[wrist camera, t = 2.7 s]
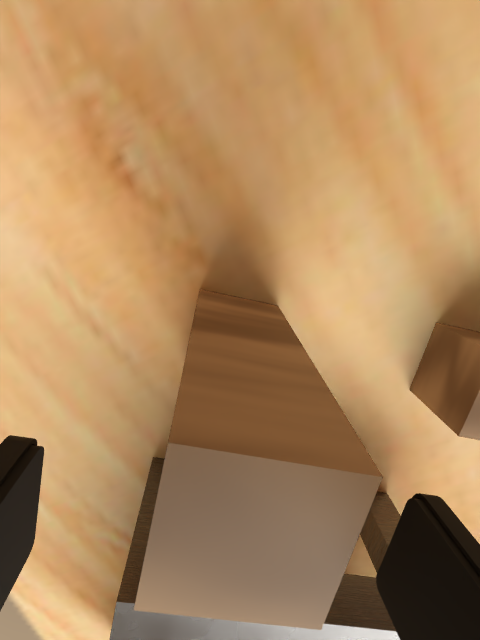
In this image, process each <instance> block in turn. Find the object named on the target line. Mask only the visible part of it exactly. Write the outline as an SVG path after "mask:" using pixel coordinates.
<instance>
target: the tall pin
mask: <svg viewBox="0 0 480 640" xmlns="http://www.w3.org/2000/svg"><path fill="white" fill-rule="evenodd" d="M382 478H383V477H382V475H381V473H380V472H379V470H378V469H377V467H376V465H375V464H374V462H373V460H372V459H371V457H370V455H369V454H368V452H367V451H366V449H365V447H364V446H363V444H362V442H361V441H360V439H359V438H358V436H357V434H356V433H355V431H354V429H353V428H352V426H351V424H350V423H349V421H348V420H347V418H346V416H345V415H344V413H343V411H342V410H341V408H340V406H339V405H338V403H337V402H336V400H335V398H334V397H333V395H332V393H331V392H330V390H329V388H328V387H327V385H326V384H325V382H324V380H323V379H322V377H321V375H320V374H319V372H318V371H317V369H316V367H315V366H314V364H313V362H312V361H311V359H310V357H309V356H308V354H307V353H306V351H305V349H304V348H303V346H302V344H301V343H300V341H299V339H298V338H297V336H296V335H295V333H294V331H293V330H292V328H291V326H290V325H289V323H288V321H287V320H286V318H285V317H284V315H283V313H282V312H281V310H280V308H279V307H278V306H276V305H271V304H267V303H262V302H257V301H253V300H248V299H243V298H239V297H234V296H229V295H225V294H220V293H215V292H210V291H206V290H201V289H200V291H199V296H198V301H197V306H196V310H195V315H194V320H193V325H192V330H191V335H190V339H189V344H188V349H187V354H186V359H185V363H184V368H183V373H182V378H181V383H180V388H179V392H178V397H177V402H176V407H175V412H174V417H173V421H172V426H171V431H170V436H169V441H168V446H167V450H166V455H165V460H164V465H163V470H162V475H161V480H160V485H159V489H158V494H157V499H156V504H155V509H154V514H153V519H152V523H151V528H150V533H149V538H148V543H147V548H146V553H145V558H144V562H143V567H142V572H141V577H140V582H139V587H138V592H137V596H136V601H135V606H134V610H135V611H144V612H154V613H163V614H173V615H183V616H192V617H202V618H211V619H221V620H230V621H240V622H249V623H259V624H268V625H278V626H287V627H297V628H306V629H316V630H321V629H322V627H323V624H324V622H325V619H326V617H327V614H328V612H329V609H330V607H331V604H332V602H333V600H334V597H335V595H336V592H337V590H338V587H339V585H340V582H341V580H342V577H343V575H344V572H345V570H346V567H347V565H348V562H349V560H350V557H351V555H352V552H353V550H354V547H355V545H356V542H357V540H358V537H359V535H360V532H361V530H362V527H363V525H364V523H365V520H366V518H367V515H368V513H369V510H370V508H371V505H372V503H373V500H374V498H375V495H376V493H377V490H378V488H379V485H380V483H381V480H382Z"/></svg>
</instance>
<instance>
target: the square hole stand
mask: <svg viewBox="0 0 480 640" xmlns="http://www.w3.org/2000/svg"><path fill="white" fill-rule="evenodd" d="M164 460H165V459H160V458H154V457H153V460H152V464H151V468H150V472H149V476H148V479H147V483H146V487H145V491H144V495H143V499H142V503H141V507H140V511H139V515H138V519H137V523H136V527H135V531H134V535H133V539H132V543H131V547H130V551H129V555H128V559H127V563H126V566H125V570H124V574H123V578H122V582H121V586H120V590H119V594H118V598H117V602H116V608H115V613H114V618H113V624H112V629H111V634H110V640H400V638H399V636H398V634H397V632H396V629H395V627H394V625H393V623H392V621H391V618H390V616H389V614H388V612H387V609H386V607H385V605H384V603H383V601H382V598H381V596H380V594H379V591H378V589H377V584H376V578H374V577H366V576H358V575H349V574H344V575H343V577H342V580H341V582H340V585H339V587H338V590H337V592H336V595H335V597H334V600H333V602H332V604H331V607H330V609H329V612H328V614H327V617H326V619H325V622H324V624H323V627H322V629H321V630H316V629H306V628H297V627H287V626H278V625H268V624H259V623H249V622H240V621H230V620H221V619H211V618H202V617H192V616H183V615H173V614H163V613H154V612H144V611H135V610H134V606H135V601H136V596H137V592H138V587H139V582H140V577H141V572H142V567H143V562H144V558H145V553H146V548H147V543H148V538H149V533H150V528H151V523H152V519H153V514H154V509H155V504H156V499H157V494H158V489H159V485H160V480H161V475H162V470H163V465H164ZM400 517H401V516H400V515H399V513H398V511H397V509H396V508H395V506H394V504H393V503H392V501H391V499H390V498H389V496H388V494H387V493H380V492H377V493H376V495H375V498H374V500H373V503H372V505H371V508H370V510H369V513H368V515H367V518H366V520H365V523H364V525H363V527H362V530H361V532H360V535H361V537H362V540H363V542H364V544H365V547H366V549H367V551H368V553H369V556H370V558H371V560H372V563H373V565H374V567H375V569H376V572H377V573H378V570H379V568H380V565H381V563H382V561H383V558H384V556H385V553H386V551H387V549H388V546H389V544H390V541H391V539H392V537H393V534H394V532H395V529H396V527H397V524H398V522H399V520H400Z"/></svg>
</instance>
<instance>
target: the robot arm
mask: <svg viewBox="0 0 480 640" xmlns="http://www.w3.org/2000/svg"><path fill="white" fill-rule="evenodd" d="M43 457H44V447H42V446H37V440H36V439H33V438H26V437H19V436H12V435H10V436H8V437H7V438H6V439H5V440H4V441H3V442H2V443H1V444H0V610H1V609H2V607H3V605H4V602H5V601H6V599H7V597H8V595H9V593H10V591H11V589H12V587H13V585H14V584H15V582H16V580H17V578H18V576H19V574H20V572H21V570H22V568H23V566H24V564H25V562H26V560H27V559H28V557H29V554H30V552H31V549H32V547H33V543H34V539H35V531H36V522H37V513H38V503H39V494H40V485H41V475H42V466H43ZM376 584H377V589H378V591H379V594H380V596H381V598H382V601H383V603H384V605H385V607H386V609H387V612H388V614H389V616H390V618H391V621H392V623H393V625H394V627H395V629H396V632H397V634H398V636H399V638H400V640H480V544H479V543H478V542H477V541H476V539H475V538H474V537H473V536H472V535H471V533H470V532H469V531H468V530H467V528H466V527H465V526H464V525H463V524H462V522H461V521H460V520H459V519H458V517H457V516H456V515H455V514H454V513H453V511H452V510H451V509H450V508H449V506H448V505H447V504H446V503H445V501H444V500H443V499H442V498H440V497H438V496H433V495H426V494H415V495H414V496H413V497H412V498H411V499H409V500H408V501H407V503H406V505H405V508H404V510H403V512H402V515H401V517H400V520H399V522H398V524H397V527H396V529H395V532H394V534H393V537H392V539H391V541H390V544H389V546H388V549H387V551H386V553H385V556H384V558H383V561H382V563H381V565H380V568H379V570H378V573H377V576H376Z"/></svg>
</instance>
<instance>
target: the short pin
mask: <svg viewBox="0 0 480 640" xmlns="http://www.w3.org/2000/svg"><path fill="white" fill-rule="evenodd" d="M410 391H411V392H412V393H414V394H415V395H416V396H417V397H418V398H419V399H420V400H421V401H422V402H423V403H424V404H425V405H426V406H427V407H428V408H429V409H430V410H431V411H433V412H434V413H435V414H436V415H437V416H438V417H439V418H440V419H441V420H442V421H443V422H444V423H445V424H446V425H447V426H448V427H449V428H450V429H452V430H453V431H454V432H455V433H456V434H457V435H458V436H460V437H465V438H471V439H476V440H480V332H477V331H472V330H468V329H463V328H459V327H454V326H450V325H445V324H441V323H436V324H435V327H434V329H433V332H432V334H431V337H430V339H429V342H428V344H427V347H426V349H425V352H424V355H423V357H422V360H421V362H420V365H419V367H418V370H417V372H416V375H415V377H414V380H413V382H412V385H411V387H410Z"/></svg>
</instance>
